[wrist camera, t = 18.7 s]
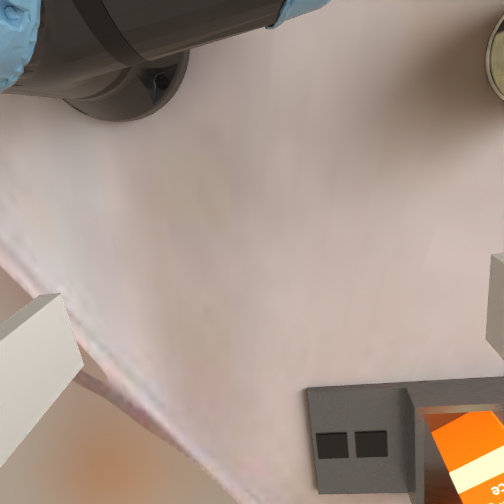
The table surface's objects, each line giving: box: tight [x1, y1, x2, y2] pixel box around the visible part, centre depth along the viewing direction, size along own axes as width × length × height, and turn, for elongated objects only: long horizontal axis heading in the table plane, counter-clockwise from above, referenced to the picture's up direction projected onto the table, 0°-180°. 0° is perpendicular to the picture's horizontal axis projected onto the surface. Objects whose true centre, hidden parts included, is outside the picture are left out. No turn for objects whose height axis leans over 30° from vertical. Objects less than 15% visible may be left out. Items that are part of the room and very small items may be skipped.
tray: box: [307, 377, 504, 504], centre depth 49 cm, size 29×17×4 cm, turn 98°
